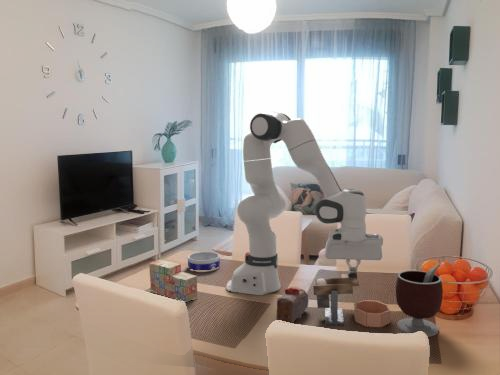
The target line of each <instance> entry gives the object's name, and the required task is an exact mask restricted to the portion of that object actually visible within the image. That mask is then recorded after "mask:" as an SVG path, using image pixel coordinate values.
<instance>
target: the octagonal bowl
mask: <svg viewBox="0 0 500 375" xmlns="http://www.w3.org/2000/svg"><path fill="white" fill-rule="evenodd" d="M353 306H354V307H353V311H354V312H353V313H354V314H353V316H354V317H353V318H354V322H355V323H357V324H360V325H362V326H365V327H368V326H369V327H368V328H383V327H385V326H387V324H388V325H390V324H391V309H390V306H389V304H387V303H383V302H382V301H379V300H370V299H368V300H367V299H362V300H359V301H357V302H354V305H353ZM389 323H390V324H389Z"/></svg>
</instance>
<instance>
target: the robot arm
mask: <svg viewBox="0 0 500 375" xmlns="http://www.w3.org/2000/svg"><path fill="white" fill-rule="evenodd" d="M249 129H250V130H249V131H250V133H248V134H246V135H245V136H244V138H243V144H242V145H243V146H242V147H243V149H242V154H243V156H242V158H243V168H244V176H245V181H246V182H247V184H249V185H250V187H251V189H252V191H253V195H251V196H247V197H246V198H244V199H242V200H241V201H240V202H239V203H238V205H237V209H236V212H237V213H236V214H237V216H238V218H239V220H240V221H241V222H242V223H243V224H244V225H245V228H246V230H247V234H248V243H249V244H248V245H249V251H246V252H245V253H244V254H245V256H244V262H243V263H242V264H241V265H240V266H238V267H236V269H235V270H234V271H233V273H232V276H231V279H230V280H229V281H227V283H226V286H225V289H227V290H228V291H227V290H226V291H227V292H229V291H231V293H237V292H238V294H244V295H245V294H247V295H255V296H264V295H267V294H270V293H274V292H277V291H279V290H280V289H281V287H282V285H281V283H280V280H279V274H278V267H279V264H278V263H279V261H278V260H279V258H278V253H277V235H276V234H275V231H273V230H272V228H271V225H270V220H272V219H276V218H277V217H279V216H280V215H281V214H283V213H284V211H285V210H286V200H285V198H284V196H283V195H282V194H281V193H280V192H279V190H278V188H277V184H276V183H275V182H276V181H275V179H274V173H273V166H272V159H271V158H272V156H271V145H272V144H277V143H279V142H280V141H283V143H284V144H285V146H286V149H287V151H288V153H289V155H290V158H291V160H292V161H293V163H294V164H295V166H296V167H297V168H298V169H300V170H302V171H305V172H307V173H309V174H310V175H312V176H314V177H315V179H316V180H317V181H318V184H319V185H320V187H321V188H320V189H321V190H322V192H323V193H324V195H325V197H324V198H322V199H320V200H319V201H318V202H316V205H315V208H314V212H315V216H316V218H317V220H318V221H320V222H321V223H322V224H329V225H331V224H337V223H338V224H340V227H339V228H336V229H332V230H330V231H329V232H328V239H326V243H325V251H324V254H325V255H324V257H325V258H326V259H327V260H345V263H346V265H347V266H348V271H356V272H358V267H359V265H360V264H361V261H381V260H382V259H383V249H382V246H383V245H384V238H383V237H382V236H381V235H380V234H377V233H375V234H372V233H367V224H366V216H367V202H366V195H365V194H364V193H363V191H361V190H359V189H356V188H344V189H343V190H342V189H341V187H340V185H339V184H338V183H339V182H338V181H337V179H336V178H335V175H334V173H333V172H332V170H331V168H330V167H329V164H328V163H327V161H326V159H325V157H324V156H323V153H322V151H321V148H320V146H319V144H318V142H317V139H316V137H315V135H314V133H313V132H312V130H311V128H310V127H309V125H308V124H307V122H306V120H304V119H303V118H301V117H300V118H299V117H296V118H290V117H289V116H288V115H287V114H285V113H282V112H281V113H280V112H275V111H270V112H267V111H264V112H263V111H262V112H259V113H257V114H255V115H254V116H253V117H252V119H251V120H250V124H249ZM351 260H354V261H356V263H355V265H353V264H352V265H351V264H350V263H351Z"/></svg>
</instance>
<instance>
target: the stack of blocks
mask: <svg viewBox="0 0 500 375" xmlns="http://www.w3.org/2000/svg"><path fill="white" fill-rule="evenodd" d="M148 265H149V266H148V267H149V279H150V280H149V281H150V291H151V290H153V291H155V292H157V293H159V294H162V295H165V296H164V297H166V296H169V297H173V298H174V299H173V300H175V299H176V298H177V300H176V301H178V300H180V299H181V300H183V301H186V302H187V301H190V300H192V299H194V298H196V297H197V298H198V277H197V275H194V274H192V273H189V272H183V271H182V267H181V264H180V263H177V262H173V261H168V260H164V259H159V260H155V261H152V262H149V264H148ZM159 294H158V295H159ZM162 295H161V296H162ZM169 297H168V298H169ZM190 302H191V301H190Z"/></svg>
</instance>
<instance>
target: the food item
mask: <svg viewBox="0 0 500 375" xmlns="http://www.w3.org/2000/svg"><path fill="white" fill-rule="evenodd" d="M308 306H309V294H308V293H307V292H306V290H304V289H303V288H301V287H297V286H296V287H295V286H293V287H291V286H290V287H288V288H286V289H285V290H284V294H282V295H281V296H279V297H278V298H276V321H277V320H282V321H286V322H290V323H292V324H293V323H294V322H295V321H296V320H297V319H301V317H302V315H303V314H304V313H305V311H306V310H307V309H308Z"/></svg>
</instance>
